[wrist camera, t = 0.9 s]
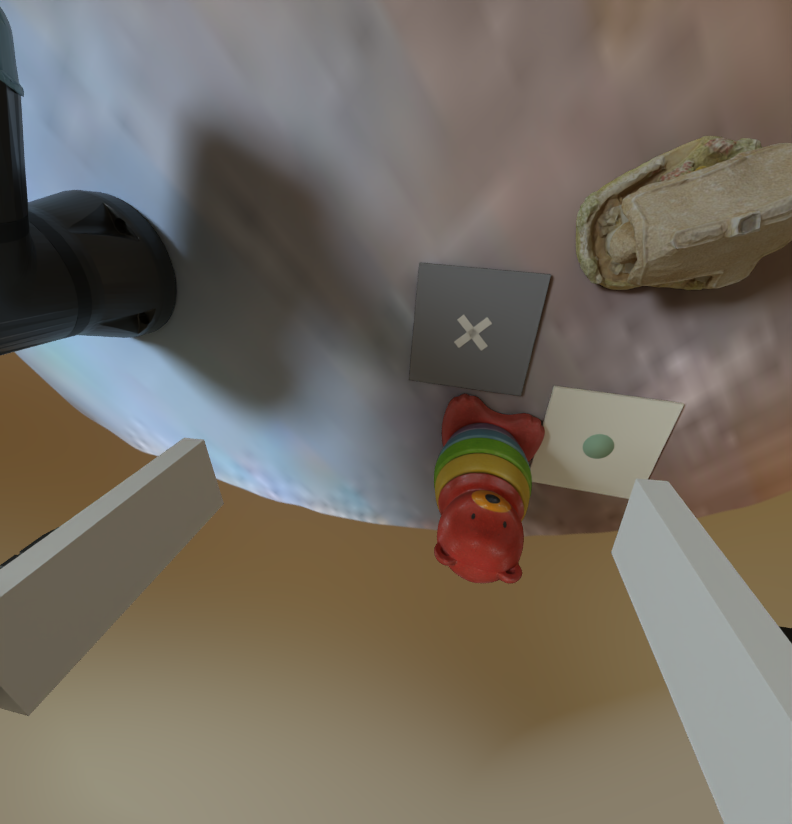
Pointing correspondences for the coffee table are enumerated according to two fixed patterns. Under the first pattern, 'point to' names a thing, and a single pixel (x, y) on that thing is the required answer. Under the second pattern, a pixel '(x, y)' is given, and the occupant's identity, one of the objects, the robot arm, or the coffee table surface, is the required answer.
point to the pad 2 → (601, 440)
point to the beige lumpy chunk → (689, 217)
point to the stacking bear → (484, 489)
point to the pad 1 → (475, 326)
